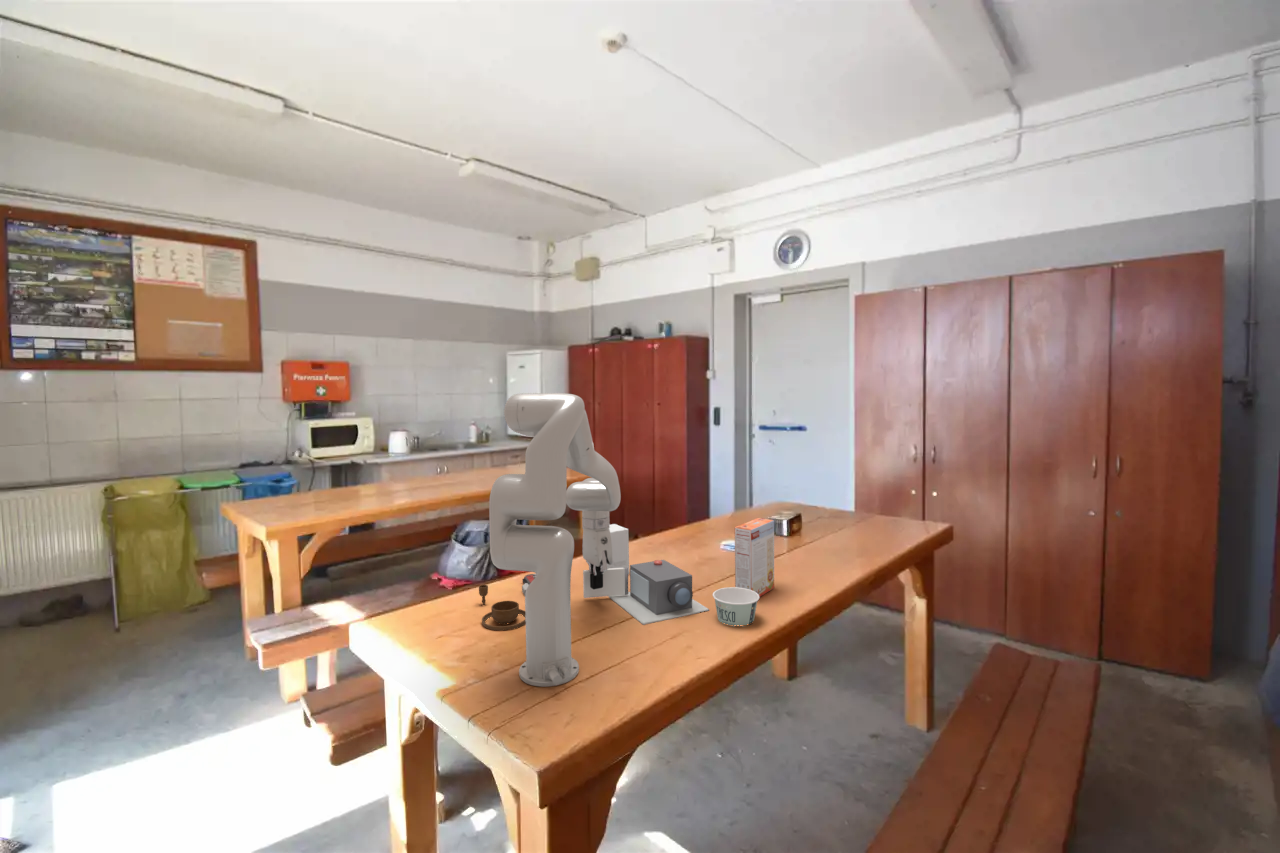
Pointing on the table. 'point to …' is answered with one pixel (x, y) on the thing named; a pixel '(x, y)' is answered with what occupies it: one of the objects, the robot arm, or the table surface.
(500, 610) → the place setting
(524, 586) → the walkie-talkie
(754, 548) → the cracker box
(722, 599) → the food container
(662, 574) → the camera box
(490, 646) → the table surface
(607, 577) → the side door
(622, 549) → the supplement box
